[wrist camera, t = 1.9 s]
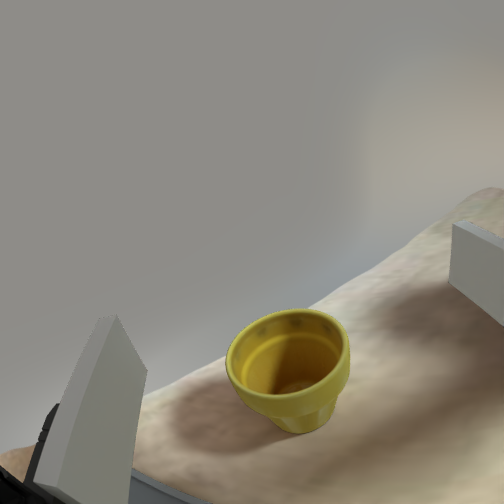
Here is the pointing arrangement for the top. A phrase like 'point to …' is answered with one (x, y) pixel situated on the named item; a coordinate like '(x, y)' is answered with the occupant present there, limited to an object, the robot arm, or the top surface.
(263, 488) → the top surface
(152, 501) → the charcoal tray
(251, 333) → the plant pot
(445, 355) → the top surface
